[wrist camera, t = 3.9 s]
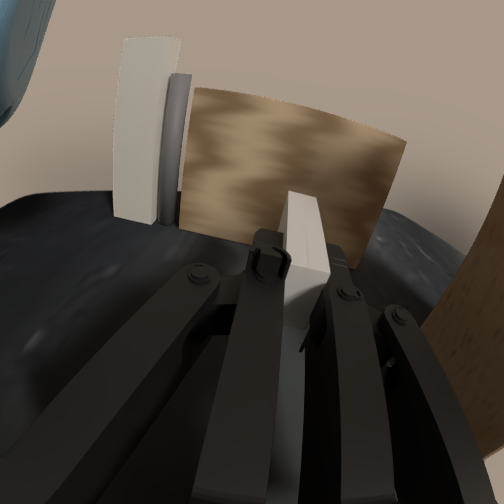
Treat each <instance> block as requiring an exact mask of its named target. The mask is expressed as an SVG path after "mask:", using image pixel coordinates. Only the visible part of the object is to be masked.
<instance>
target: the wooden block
mask: <svg viewBox="0 0 504 504" xmlns="http://www.w3.org/2000/svg"><path fill="white" fill-rule="evenodd" d="M420 329H421V331H422V332H423V334H424V336H425V337H426V339H427V341H428V343H429V344H430V346H431V348H432V350H433V352H434V353H435V355H436V357H437V359H438V361H439V363H440V365H441V366H442V368H443V370H444V372H445V374H446V376H447V378H448V380H449V382H450V384H451V386H452V388H453V390H454V392H455V394H456V396H457V398H458V401H459V403H460V405H461V407H462V409H463V411H464V414H465V416H466V418H467V420H468V423H469V425H470V428H471V430H472V432H473V435H474V437H475V440H476V442H477V445H478V448H479V450H480V453H481V456H482V458H483V460H485V459H486V458H488V457H490V456H491V455H493V454H495V453H496V452H498V451H499V450H501V449H503V448H504V176H503V178H502V181H501V184H500V186H499V189H498V191H497V194H496V196H495V199H494V201H493V203H492V206H491V208H490V210H489V213H488V215H487V217H486V219H485V221H484V224H483V226H482V227H481V229H480V231H479V233H478V236H477V238H476V239H475V242H474V243H473V246H472V247H471V249H470V251H469V252H468V254H467V256H466V258H465V260H464V261H463V263H462V265H461V267H460V268H459V270H458V272H457V273H456V275H455V277H454V278H453V280H452V281H451V283H450V285H449V286H448V288H447V289H446V291H445V292H444V294H443V295H442V297H441V298H440V300H439V301H438V303H437V304H436V306H435V307H434V309H433V310H432V312H431V313H430V314H429V316H428V317H427V318H426V320H425V321H424V323H423V324H422V325H421V327H420Z"/></svg>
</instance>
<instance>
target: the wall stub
mask: <svg viewBox="0 0 504 504" xmlns="http://www.w3.org/2000/svg"><path fill="white" fill-rule="evenodd" d="M180 47H181V40H179V39H176V38H174V37H171V36H156V37H155V36H154V37H135V38H125V39H124V44H123V49H122V55H121V62H120V68H119V76H118V84H117V93H116V103H115V115H114V132H113V133H114V134H113V208H114V216H115V217H119V218H124V219H128V220H132V221H137V222H141V223H145V224H150V225H152V223H153V222H154V221H155V220H156V219H157V218H158V223H159V224H161V225H172V224H174V223H175V215H176V201H177V187H178V177H179V165H180V156H181V147H182V139H183V131H184V123H185V116H186V108H187V102H188V96H189V90H190V84H191V78H192V75H191V74H177V73H176V68H177V63H178V57H179V52H180Z"/></svg>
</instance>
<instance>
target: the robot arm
mask: <svg viewBox="0 0 504 504" xmlns="http://www.w3.org/2000/svg"><path fill="white" fill-rule="evenodd" d="M55 2H56V0H0V127H2V126H3V125H4V124H5V123H6V122H7V121H8V120H9V119H10V117H11V116H12V115H13V114H14V112H15V111H16V109H17V107H18V106H19V104H20V102H21V100H22V98H23V96H24V93H25V91H26V89H27V86H28V84H29V81H30V78H31V75H32V72H33V69H34V66H35V63H36V60H37V57H38V54H39V51H40V48H41V44H42V42H43V38H44V35H45V32H46V29H47V26H48V23H49V20H50V17H51V13H52V11H53V8H54V5H55ZM346 261H347V259H346V256H345V253H344V252H343V250H342V249H341V248H340V247H339V246H338V245H334V244H330V243H326V242H325V238H324V233H323V228H322V223H321V218H320V213H319V208H318V203H317V199H316V197H312V196H308V195H304V194H300V193H296V192H292V191H288V195H287V198H286V202H285V206H284V210H283V213H282V217H281V221H280V225H279V228H278V232H277V231H273V230H268V229H264V228H260V229H259V230H258V231H256V232H255V235H254V239H253V243H252V247H251V249H250V251H249V256H248V260H247V265H246V269H245V270H244V271H243V272H242V273H240V274H237V275H234V276H220V273H219V272H218V271H217V270H216V268H214V267H212V266H210V265H208V264H204V263H191V264H187V265H185V266H184V267H182V268H181V269H180V270H179V271H178V272H176V273H175V274H174V275H173V276H172V277H171V278H170V279H169V280H168V281H167V282H166V283H165V284H164V285H163V286H162V287H161V288H160V289H159V290H158V291H157V292H156V293H155V294H154V295H153V296H152V297H151V298H150V299H149V300H148V301H147V302H146V303H145V304H144V305H143V306H142V307H141V308H140V309H139V310H138V311H137V312H136V313H135V314H134V315H133V316H132V317H131V318H130V319H129V320H128V321H127V322H126V323H125V324H124V325H123V326H122V327H121V328H120V329H119V330H118V331H117V332H116V333H115V334H114V335H113V336H112V337H111V338H110V339H109V340H108V341H107V342H106V343H105V344H104V345H103V346H102V348H101V349H100V350H99V351H98V352H97V353H96V354H95V355H94V356H93V357H92V358H91V359H90V360H89V361H88V362H87V363H86V364H85V365H84V367H83V368H82V369H81V370H80V371H79V372H78V373H77V374H76V375H75V376H74V377H73V378H72V379H71V381H70V382H69V383H68V384H67V385H66V386H65V387H64V388H63V389H62V390H61V392H60V393H59V394H58V395H57V396H56V397H55V398H54V399H53V400H52V402H51V403H50V404H49V405H48V406H47V407H46V408H45V409H44V411H43V412H42V413H41V414H40V415H39V416H38V418H37V419H36V420H35V421H34V422H33V423H32V424H31V426H30V427H29V428H28V429H27V430H26V432H25V433H24V434H23V435H22V436H21V437H20V439H19V440H18V441H17V442H16V443H15V445H14V446H13V447H12V448H11V450H10V451H9V452H8V453H7V454H6V456H4V457H2V458H0V504H95V503H96V502H97V500H98V499H99V498H100V497H101V495H102V494H103V493H104V491H105V490H106V488H107V487H108V486H109V484H110V483H111V481H112V480H113V479H114V477H115V476H116V475H117V473H118V472H119V470H120V469H121V467H122V466H123V465H124V463H125V462H126V460H127V459H128V458H129V456H130V455H131V453H132V452H133V451H134V449H135V448H136V446H137V445H138V443H139V442H140V441H141V439H142V438H143V436H144V435H145V434H146V432H147V431H148V429H149V428H150V426H151V425H152V423H153V422H154V421H155V419H156V418H157V416H158V415H159V413H160V412H161V411H162V409H163V408H164V406H165V405H166V403H167V402H168V400H169V399H170V397H171V396H172V395H173V393H174V392H175V390H176V389H177V387H178V386H179V384H180V383H181V381H182V380H183V379H184V377H185V376H186V374H187V373H188V371H189V370H190V368H191V367H192V365H193V364H194V362H195V361H196V359H197V358H198V357H199V355H200V354H201V352H202V351H203V349H204V348H205V346H206V345H207V343H208V342H209V340H210V339H211V337H212V335H229V340H228V344H227V348H226V352H225V356H224V360H223V364H222V369H221V373H220V377H219V381H218V385H217V389H216V393H215V398H214V402H213V406H212V410H211V414H210V418H209V423H208V427H207V431H206V435H205V439H204V443H203V448H202V452H201V456H200V460H199V464H198V469H197V473H196V477H195V481H194V485H193V489H192V493H191V497H190V501H189V504H265V501H266V492H267V485H268V477H269V469H270V460H271V451H272V442H273V433H274V423H275V413H276V402H277V391H278V380H279V367H280V354H281V341H282V326H283V325H287V326H292V327H297V328H303V329H305V328H306V326H307V324H308V322H309V320H310V329H309V331H308V333H307V335H306V337H305V339H304V341H303V343H302V345H301V347H300V350H299V352H302V351H303V349H304V347H305V395H304V422H303V442H302V458H301V472H300V484H299V496H298V504H498V503H497V501H496V500H495V497H494V493H493V489H492V486H491V483H490V480H489V476H488V473H487V470H486V467H485V464H484V461H483V458H482V456H481V453H480V450H479V448H478V445H477V442H476V440H475V437H474V435H473V432H472V430H471V428H470V425H469V423H468V420H467V418H466V416H465V414H464V411H463V409H462V407H461V405H460V403H459V401H458V398H457V396H456V394H455V392H454V390H453V388H452V386H451V384H450V382H449V380H448V378H447V376H446V374H445V372H444V370H443V368H442V366H441V365H440V363H439V361H438V359H437V357H436V355H435V353H434V352H433V350H432V348H431V346H430V344H429V343H428V341H427V339H426V337H425V336H424V334H423V332H422V331H421V329H420V327H419V326H418V324H417V322H416V321H415V319H414V317H413V316H412V315H411V313H410V312H409V311H407V310H406V309H405V308H404V307H401V306H399V305H395V304H391V305H388V306H387V307H386V308H385V309H384V311H383V312H382V311H380V310H378V309H376V308H373V307H371V306H369V305H367V304H366V301H365V297H364V295H363V293H362V292H361V291H360V290H359V289H358V288H357V287H355V286H354V285H353V283H352V279H351V275H350V271H349V268H348V263H347V262H346ZM392 356H394V359H395V361H396V363H395V364H394V365H393V366H391V364H390V363H389V360H390V359H391V357H392ZM394 487H395V491H396V494H397V498H398V501H397V500H396V498H395V493H394Z"/></svg>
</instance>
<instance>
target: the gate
mask: <svg viewBox="0 0 504 504" xmlns="http://www.w3.org/2000/svg"><path fill="white" fill-rule="evenodd" d="M405 146H406V141H404V140H402V139H400V138H398V137H396V136H393V135H391V134H388V133H386V132H383V131H380V130H378V129H375V128H372V127H370V126H367V125H364V124H361V123H358V122H355V121H352V120H349V119H346V118H343V117H340V116H336V115H333V114H330V113H327V112H323V111H320V110H316V109H312V108H309V107H305V106H301V105H297V104H293V103H289V102H284V101H280V100H275V99H271V98H266V97H260V96H255V95H249V94H244V93H238V92H231V91H225V90H217V89H209V88H195V89H194V95H193V101H192V109H191V115H190V122H189V129H188V136H187V144H186V153H185V162H184V172H183V182H182V192H181V204H180V217H179V229H183V230H187V231H192V232H196V233H200V234H205V235H209V236H213V237H218V238H222V239H226V240H231V241H235V242H239V243H244V244H248V245H252V243H253V239H254V235H255V232H256V231H258V230H259V229H260V228H264V229H268V230H273V231H277V232H278V228H279V225H280V221H281V217H282V213H283V210H284V206H285V202H286V198H287V195H288V191H292V192H296V193H300V194H304V195H308V196H312V197H316V199H317V203H318V208H319V213H320V218H321V223H322V228H323V233H324V238H325V242H326V243H330V244H334V245H338V246H339V247H340V248H341V249H342V250H343V252H344V253H345V256H346V259H347V261H346V262H347V263H348V268H350V269H354V270H356V268H357V266H358V264H359V262H360V259H361V257H362V255H363V253H364V251H365V249H366V246H367V244H368V242H369V240H370V237H371V235H372V233H373V230H374V228H375V226H376V223H377V221H378V219H379V216H380V214H381V211H382V209H383V206H384V204H385V201H386V199H387V196H388V193H389V191H390V188H391V186H392V183H393V180H394V177H395V175H396V172H397V169H398V166H399V163H400V160H401V157H402V155H403V152H404V149H405Z"/></svg>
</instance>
